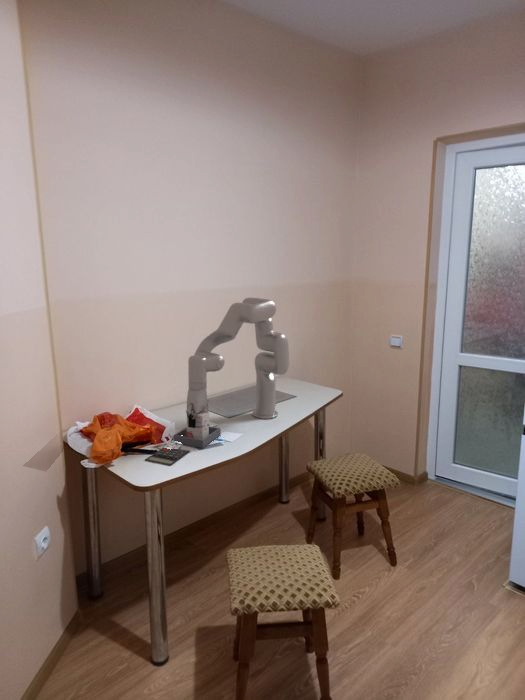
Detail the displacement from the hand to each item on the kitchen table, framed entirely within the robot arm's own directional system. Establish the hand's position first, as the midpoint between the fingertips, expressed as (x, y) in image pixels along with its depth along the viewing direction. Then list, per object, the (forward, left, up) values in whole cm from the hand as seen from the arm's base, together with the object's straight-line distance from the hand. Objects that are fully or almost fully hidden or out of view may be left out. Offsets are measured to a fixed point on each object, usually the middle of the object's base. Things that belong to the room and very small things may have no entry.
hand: (197, 423), depth 215 cm
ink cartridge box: (0, 0, -7) cm, 7 cm away
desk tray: (0, 0, -7) cm, 7 cm away
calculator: (+20, -2, -8) cm, 22 cm away
